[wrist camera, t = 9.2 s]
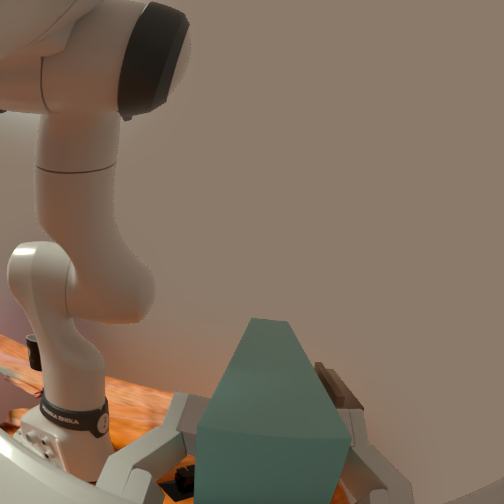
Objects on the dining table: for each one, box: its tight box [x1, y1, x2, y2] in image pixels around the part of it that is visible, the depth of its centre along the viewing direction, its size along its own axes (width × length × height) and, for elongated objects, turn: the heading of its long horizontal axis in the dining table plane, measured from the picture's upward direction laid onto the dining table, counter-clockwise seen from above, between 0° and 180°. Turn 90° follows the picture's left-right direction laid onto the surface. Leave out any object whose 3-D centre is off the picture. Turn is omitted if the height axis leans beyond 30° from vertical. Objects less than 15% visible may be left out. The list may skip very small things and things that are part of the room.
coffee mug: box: [26, 335, 42, 371], centre depth 66 cm, size 12×9×10 cm
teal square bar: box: [194, 318, 352, 504], centre depth 16 cm, size 4×22×4 cm, turn 177°
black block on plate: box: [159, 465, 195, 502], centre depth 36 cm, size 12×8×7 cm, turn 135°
